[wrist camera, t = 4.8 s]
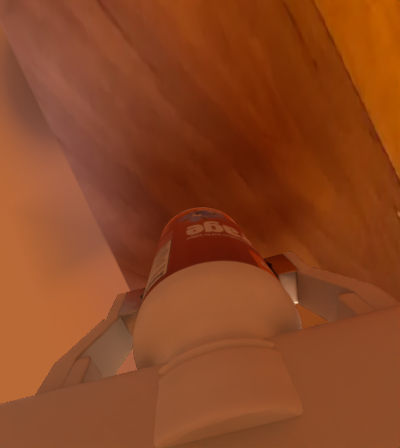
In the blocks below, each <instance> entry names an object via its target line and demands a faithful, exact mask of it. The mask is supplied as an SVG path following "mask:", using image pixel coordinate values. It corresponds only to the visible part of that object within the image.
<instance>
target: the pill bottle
mask: <svg viewBox="0 0 400 448" xmlns="http://www.w3.org/2000/svg"><path fill="white" fill-rule="evenodd" d="M300 329H302V325H301V319H300V316H299V313H298V311H297V308H296V306H295V304H294V302H293V300H292V298H291V297H290V295H289V294H288V292H287V291H286V289H285V288H284V287H283V285H282V284H281V282H280V281H279V280H278V278H277V277H276V276H275V274H274V273H273V272H272V270H271V269H270V268H269V266H268V265H267V264H266V262H265V261H264V260H263V258H262V257H261V256H260V254H259V253H258V252H257V251H256V249H255V248H254V246H253V245H252V244H251V242H250V241H249V240H248V238H247V237H246V236H245V234H244V233H243V232H242V230H241V229H240V228H239V226H238V225H237V224H236V222H235V221H234V220H233V219H232V218H231V217H229V216H228V215H227V214H225V213H224V212H222V211H219V210H217V209H213V208H207V207H198V208H191V209H188V210H185V211H183V212H181V213H179V214H178V215H176V216H175V217H173V218H172V219H171V220H170V221H169V222H168V224H167V225H166V226H165V228H164V230H163V232H162V234H161V237H160V240H159V243H158V247H157V250H156V254H155V257H154V261H153V264H152V268H151V271H150V275H149V278H148V282H147V285H146V288H145V292H144V295H143V299H142V302H141V305H140V309H139V312H138V315H137V320H136V323H135V327H134V332H133V355H134V359H135V363H136V366H137V369H138V370H139V369H143V368H147V367H151V366H155V365H159V364H163V363H167V362H168V363H167V364H166V365H164V366H163V367H162V368H161V369H160V370H159V371H158V373H159V374H164V376H163V377H162V378H161V379H160V381H159V382H158V384H159V391H158V397H157V405H156V417H155V429H154V445H155V447H156V448H165V447H169V446H174V445H178V444H182V443H186V442H190V441H195V440H199V439H203V438H207V437H212V436H216V435H220V434H224V433H229V432H233V431H237V430H242V429H246V428H250V427H255V426H259V425H263V424H267V423H272V422H276V421H280V420H284V419H288V418H293V417H297V416H300V415H301V414H302V413H303V406H302V402H301V399H300V397H299V395H298V393H297V391H296V389H295V387H294V385H293V383H292V380H291V378H290V375H289V373H288V370H287V368H286V366H285V364H284V362H283V359H282V357H281V353H280V352H277V351H275V350H272V349H271V348H272V347H273V346H274V345H275V344H274V343H273V342H270V341H266V340H261V339H264V338H268V337H272V336H276V335H280V334H284V333H288V332H292V331H296V330H300Z"/></svg>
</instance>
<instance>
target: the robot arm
mask: <svg viewBox="0 0 400 448" xmlns="http://www.w3.org/2000/svg"><path fill="white" fill-rule="evenodd" d="M263 260H264V261H265V262H266V264H267V265H268V266H269V268H270V269H271V270H272V272H273V273H274V274H275V276H276V277H277V278H278V280H279V281H280V282H281V284H282V285H283V287H284V288H285V289H286V291H287V292H288V294H289V295H290V297H291V298H292V300H293V302H294V304H296V303H299V304H300V305H301V306H303V307H305V308H307V309H308V310H310V311H312V312H313V313H315V314H317V315H318V316H320V317H322V318H324V319H325V320H327V321H329V322H328V323H324V324H320V325H317V326H313V327H309V328H305V329H300V330H296V331H292V332H288V333H284V334H280V335H276V336H272V337H268V338H264V339H261V340H266V341H270V342H273V343H274V344H275V345H274V346H273V347H272V348H271V349H272V350H275V351H277V352H280V353H281V357H282V359H283V362H284V364H285V366H286V368H287V370H288V373H289V375H290V378H291V380H292V383H293V385H294V387H295V389H296V391H297V393H298V395H299V397H300V399H301V402H302V406H303V413H302V414H301V415H300V416H297V417H293V418H288V419H284V420H280V421H276V422H272V423H267V424H263V425H259V426H255V427H250V428H246V429H242V430H237V431H233V432H229V433H224V434H220V435H216V436H212V437H207V438H203V439H199V440H195V441H190V442H186V443H182V444H178V445H174V446H169V447H165V448H400V302H399V301H398V300H396V299H395V298H393V297H392V296H390V295H389V294H387V293H386V292H384V291H383V290H381V289H380V288H379V287H377V286H376V285H373V284H370V283H367V282H363V281H360V280H356V279H353V278H349V277H346V276H343V275H339V274H336V273H332V272H329V271H325V270H322V269H318V268H315V267H313V268H311V267H309V266H308V265H307V264H306V263H305V262H304V261H303V260H301V259H300V258H299V257H298V256H297V255H296V254H295V253H293V252H292V251H289V252H286V253H282V254H280V255H276V256H272V257H268V258H264V259H263ZM144 292H145V288H143V289H139V290H134V291H130V292H126V293H122V294H119V295H118V296H117V297H116V299H115V301H114V303H113V306H112V308H111V310H110V312H109V314H108V316H107V318H106V319H104V320H102V321H101V322H100V323H99V324H98V325H97V326H96V327H95V328H94V329H92V330H91V331H90V332H89V333H88V334H87V335H86V336H85V337H84V338H82V339H81V340H80V341H79V342H78V343H77V344H76V345H75V346H74V347H72V348H71V349H70V350H69V351H68V352H67V353H66V354H65V355H64V356H63V357H62V358H60V359H59V360H58V361H57V362H56V363H55V364H54V365H53V367H52V368H51V370H50V372H49V373H48V375H47V377H46V378H45V380H44V381H43V383H42V385H41V386H40V388H39V389H38V391H37V393H36V395H34V396H30V397H26V398H22V399H18V400H14V401H10V402H6V403H2V404H0V448H156V447H155V445H154V429H155V417H156V405H157V397H158V391H159V384H158V382H159V381H160V379H161V378H162V377H163V376H164V374H159V373H158V371H159V370H160V369H161V368H162V367H163V366H164V365H166V364H167V363H168V362H167V363H163V364H159V365H155V366H151V367H147V368H143V369H139V370H135V371H131V372H127V373H123V374H119V375H115V373H116V372H117V371H118V369H119V368H120V366H121V365H122V363H123V362H124V360H125V359H126V357H127V356H128V354H129V353H130V351H131V350H132V348H133V332H134V327H135V323H136V320H137V315H138V312H139V309H140V305H141V302H142V299H143V295H144ZM114 375H115V376H114Z"/></svg>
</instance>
